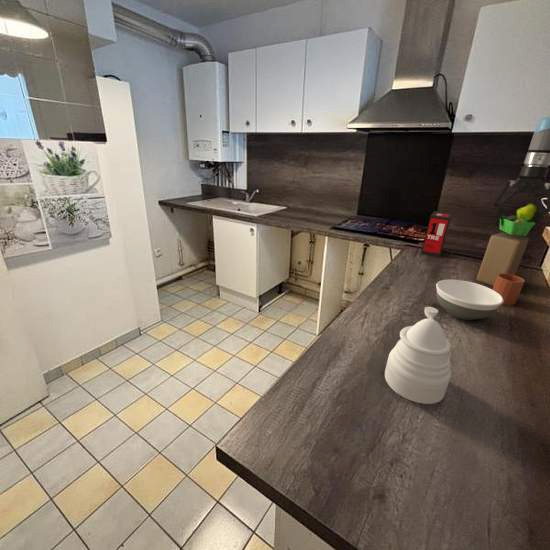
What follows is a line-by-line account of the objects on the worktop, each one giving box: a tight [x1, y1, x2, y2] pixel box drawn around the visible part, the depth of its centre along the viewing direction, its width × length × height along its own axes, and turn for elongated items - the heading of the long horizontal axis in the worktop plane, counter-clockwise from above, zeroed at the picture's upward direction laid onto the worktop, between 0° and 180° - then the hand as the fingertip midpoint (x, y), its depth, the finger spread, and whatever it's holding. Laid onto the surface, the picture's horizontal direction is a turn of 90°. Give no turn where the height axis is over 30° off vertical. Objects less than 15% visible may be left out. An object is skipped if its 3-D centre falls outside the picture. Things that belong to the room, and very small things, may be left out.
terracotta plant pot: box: [491, 273, 526, 306], centre depth 105 cm, size 8×8×9 cm
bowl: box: [435, 279, 503, 321], centre depth 95 cm, size 19×19×8 cm
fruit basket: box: [499, 202, 538, 237], centre depth 110 cm, size 11×9×11 cm
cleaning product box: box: [420, 210, 454, 258], centre depth 154 cm, size 16×9×20 cm, turn 147°
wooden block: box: [476, 232, 529, 287], centre depth 118 cm, size 10×10×20 cm
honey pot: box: [384, 306, 452, 405], centre depth 63 cm, size 13×13×18 cm
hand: (513, 227), depth 112 cm, fingers closed on fruit basket, 10 cm apart
